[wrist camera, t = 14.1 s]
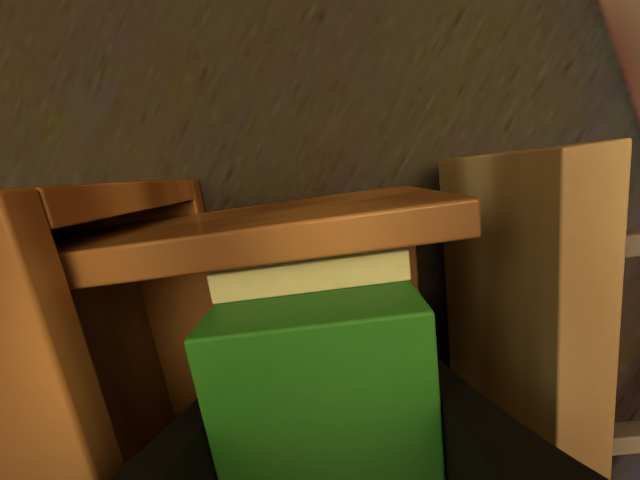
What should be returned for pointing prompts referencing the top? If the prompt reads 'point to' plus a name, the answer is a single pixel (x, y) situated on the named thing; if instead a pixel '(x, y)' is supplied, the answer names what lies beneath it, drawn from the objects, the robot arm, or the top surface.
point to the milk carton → (320, 371)
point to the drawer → (410, 231)
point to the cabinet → (61, 326)
